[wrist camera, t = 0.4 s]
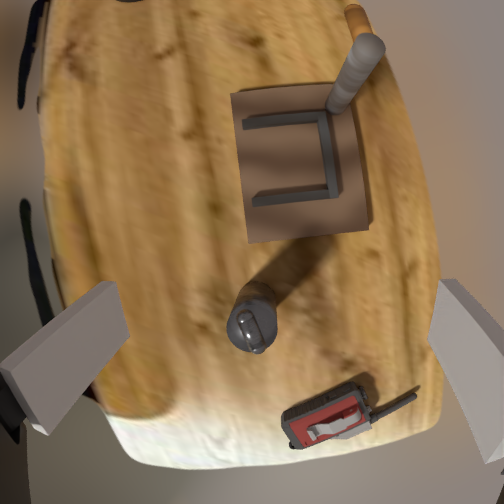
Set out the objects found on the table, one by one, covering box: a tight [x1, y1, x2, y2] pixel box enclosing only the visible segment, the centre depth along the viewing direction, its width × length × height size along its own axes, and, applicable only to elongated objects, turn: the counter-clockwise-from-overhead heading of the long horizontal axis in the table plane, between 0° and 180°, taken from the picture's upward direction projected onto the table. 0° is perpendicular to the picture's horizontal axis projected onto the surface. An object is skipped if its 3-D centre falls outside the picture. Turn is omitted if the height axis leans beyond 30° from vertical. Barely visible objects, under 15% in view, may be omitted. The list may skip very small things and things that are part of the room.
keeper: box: [230, 4, 386, 244], centre depth 27 cm, size 20×14×16 cm
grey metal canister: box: [227, 282, 277, 354], centre depth 32 cm, size 5×5×12 cm
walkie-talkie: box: [281, 382, 417, 450], centre depth 37 cm, size 9×4×20 cm
